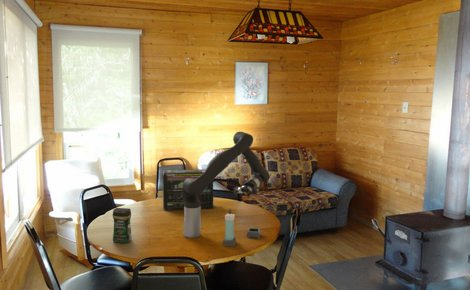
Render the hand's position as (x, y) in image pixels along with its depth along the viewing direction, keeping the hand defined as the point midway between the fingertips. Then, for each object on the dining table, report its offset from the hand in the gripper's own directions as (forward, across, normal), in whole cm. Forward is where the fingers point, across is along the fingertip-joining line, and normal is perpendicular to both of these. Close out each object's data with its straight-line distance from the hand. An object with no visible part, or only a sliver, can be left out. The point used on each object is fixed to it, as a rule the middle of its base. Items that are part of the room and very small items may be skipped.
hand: (240, 194), depth 240 cm
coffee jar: (+42, -55, +16) cm, 71 cm away
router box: (-30, -57, +26) cm, 69 cm away
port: (+2, +7, +24) cm, 25 cm away
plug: (+20, 0, +21) cm, 29 cm away
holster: (+20, 0, +21) cm, 29 cm away
